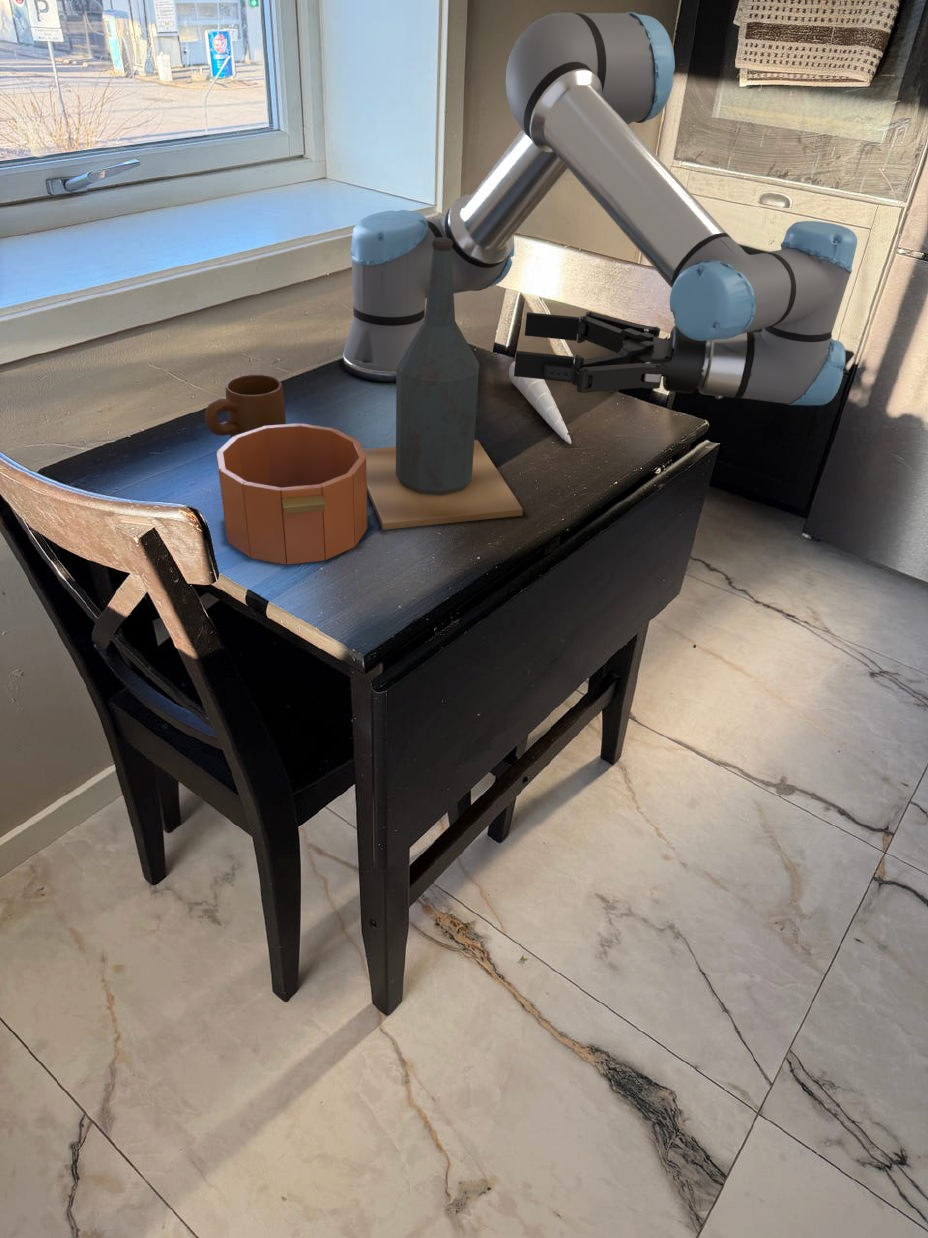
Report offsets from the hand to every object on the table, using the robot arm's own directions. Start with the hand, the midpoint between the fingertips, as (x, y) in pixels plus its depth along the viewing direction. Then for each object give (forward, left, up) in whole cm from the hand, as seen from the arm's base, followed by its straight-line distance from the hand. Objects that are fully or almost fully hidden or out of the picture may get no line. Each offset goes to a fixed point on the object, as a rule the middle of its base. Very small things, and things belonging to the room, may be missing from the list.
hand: (520, 342), depth 108 cm
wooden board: (-4, -9, -20) cm, 22 cm away
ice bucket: (+3, -28, -20) cm, 35 cm away
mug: (-17, -32, -20) cm, 41 cm away
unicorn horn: (-24, +14, -20) cm, 34 cm away
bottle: (-4, -9, -19) cm, 22 cm away
